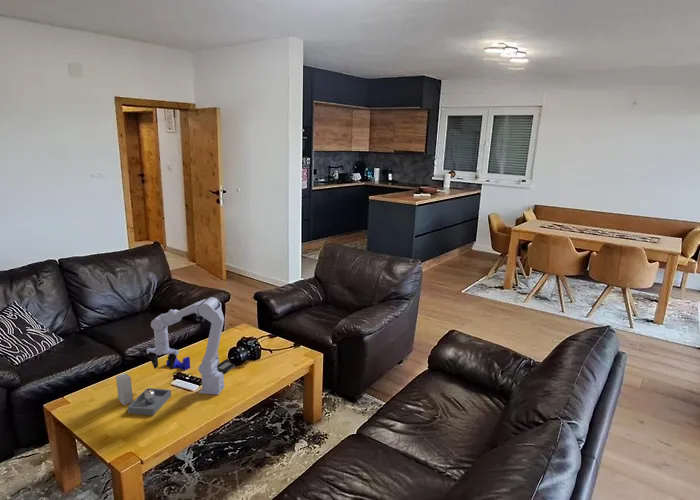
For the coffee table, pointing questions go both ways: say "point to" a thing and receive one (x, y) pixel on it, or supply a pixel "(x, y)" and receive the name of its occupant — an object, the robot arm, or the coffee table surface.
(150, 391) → the cell
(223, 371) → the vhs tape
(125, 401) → the skincare box
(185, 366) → the cable clip
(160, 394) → the grey tray
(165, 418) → the coffee table surface
